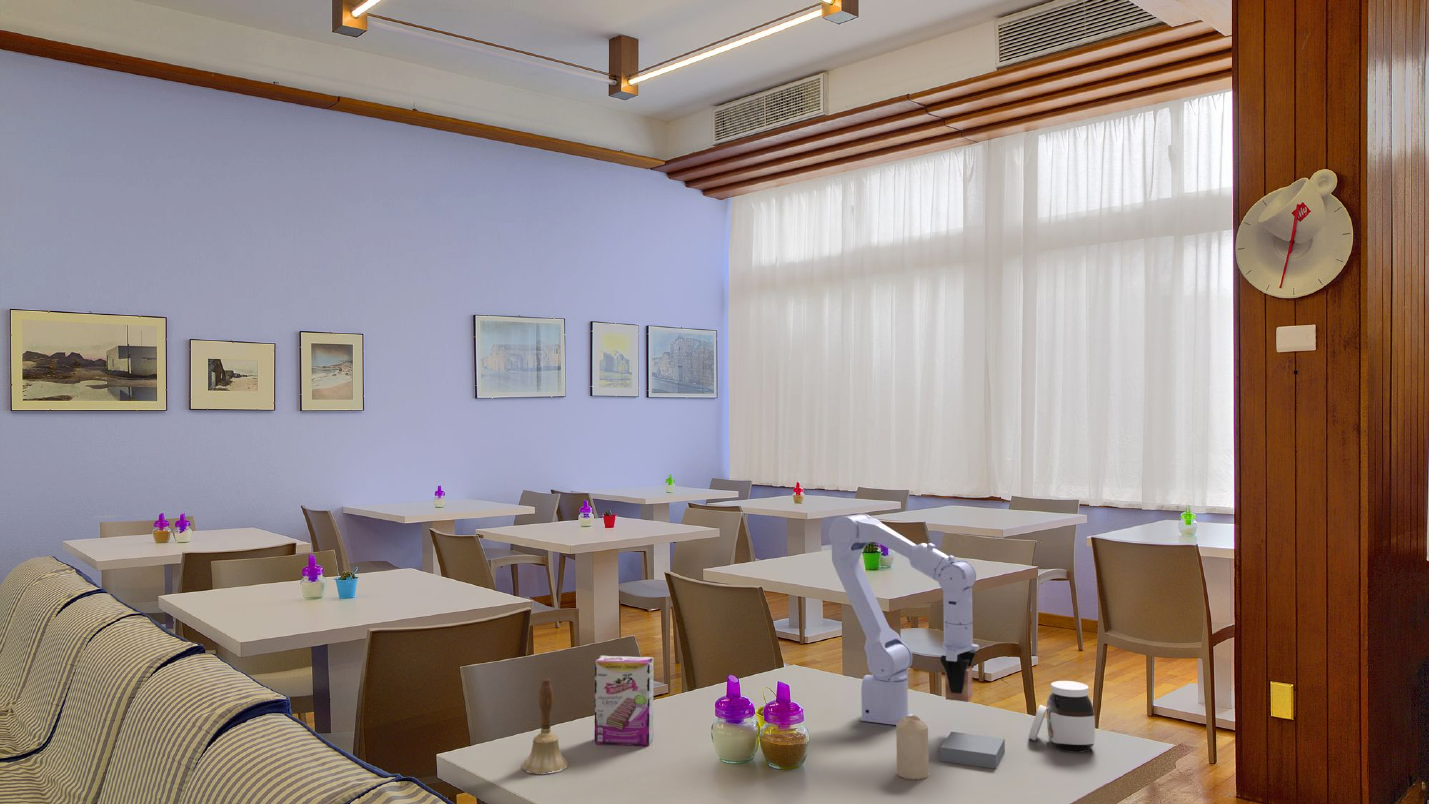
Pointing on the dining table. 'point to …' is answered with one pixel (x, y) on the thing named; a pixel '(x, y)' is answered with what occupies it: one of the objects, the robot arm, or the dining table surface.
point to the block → (967, 687)
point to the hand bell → (545, 739)
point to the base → (972, 749)
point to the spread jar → (1067, 717)
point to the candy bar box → (624, 700)
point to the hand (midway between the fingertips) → (958, 689)
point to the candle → (912, 748)
